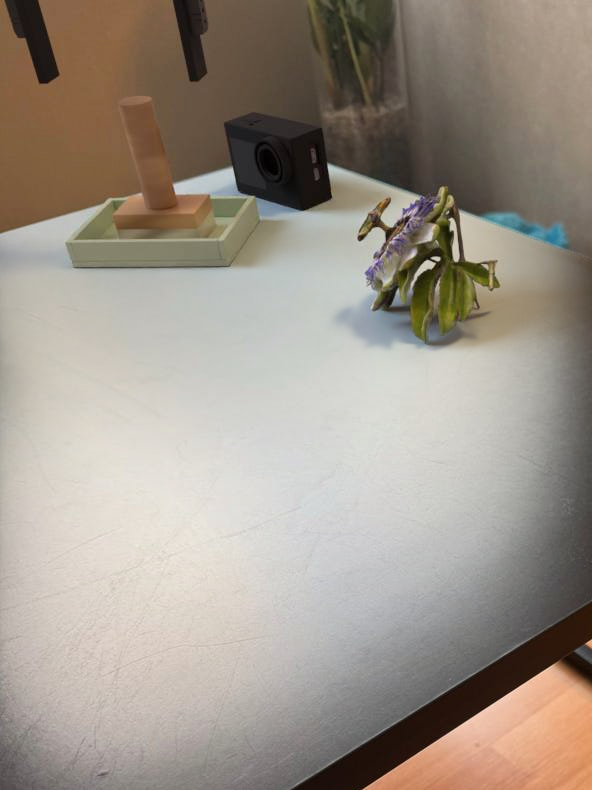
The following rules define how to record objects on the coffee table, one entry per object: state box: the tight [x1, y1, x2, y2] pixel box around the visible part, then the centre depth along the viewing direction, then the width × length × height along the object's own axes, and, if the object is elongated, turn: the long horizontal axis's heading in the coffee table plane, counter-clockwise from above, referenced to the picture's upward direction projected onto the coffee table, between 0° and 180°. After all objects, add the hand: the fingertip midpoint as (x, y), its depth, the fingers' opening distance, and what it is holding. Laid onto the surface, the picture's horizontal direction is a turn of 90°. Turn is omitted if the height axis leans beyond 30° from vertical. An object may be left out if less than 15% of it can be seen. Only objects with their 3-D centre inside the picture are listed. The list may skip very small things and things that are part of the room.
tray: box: [64, 195, 261, 268], centre depth 97 cm, size 15×11×2 cm
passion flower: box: [356, 185, 501, 345], centre depth 82 cm, size 11×11×12 cm
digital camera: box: [223, 111, 333, 211], centre depth 104 cm, size 10×5×7 cm, turn 50°
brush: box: [112, 95, 216, 239], centre depth 94 cm, size 8×5×12 cm, turn 85°
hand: (123, 79), depth 88 cm, fingers open, 13 cm apart
